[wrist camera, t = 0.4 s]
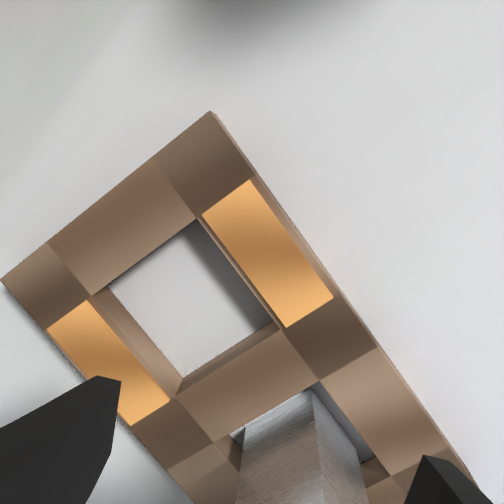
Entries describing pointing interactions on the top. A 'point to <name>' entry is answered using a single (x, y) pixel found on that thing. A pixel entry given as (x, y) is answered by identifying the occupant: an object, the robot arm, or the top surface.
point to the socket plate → (240, 355)
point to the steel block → (299, 458)
